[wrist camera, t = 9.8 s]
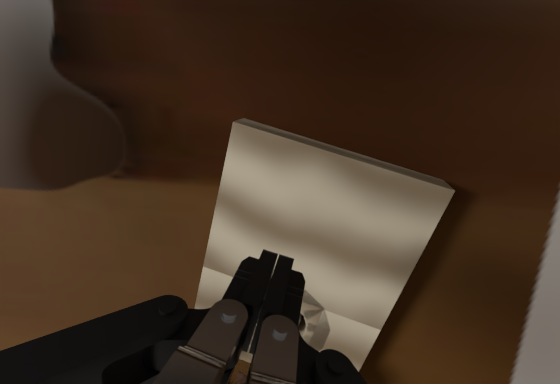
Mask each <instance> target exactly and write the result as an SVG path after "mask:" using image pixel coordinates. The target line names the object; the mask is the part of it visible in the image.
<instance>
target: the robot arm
mask: <svg viewBox="0 0 560 384" xmlns="http://www.w3.org/2000/svg"><path fill="white" fill-rule="evenodd" d="M277 256H278V254H277V253H274V252H271V251H268V250H265V249H263V251H262V253H261V255H260V258H259V259H257V258H254V257H250V256H249V257H247V258H246V259H244V260H243V261H241V263H240V265H239V267H238V269H237V271H236V273H235V275H234V277H233V279H232V280H231V282H230V284H229V286H228V288H227V290H226V292H225V294H224V296H223V298H222V299H221V300H220V301H218V302H216V303H215V304H214V305H213V306H212V307H211V308H207V309H188V306H187V304H186V302H185V301H184V300H183V299H182V298H180V297H177V296H174V295H164V296H160V297H157V298H154V299H151V300H148V301H145V302H142V303H139V304H136V305H133V306H131V307H128V308H125V309H122V310H119V311H116V312H113V313H110V314H107V315H104V316H101V317H98V318H95V319H93V320H90V321H87V322H84V323H81V324H78V325H75V326H72V327H69V328H66V329H63V330H60V331H57V332H54V333H52V334H49V335H46V336H43V337H40V338H37V339H34V340H31V341H28V342H25V343H22V344H19V345H16V346H14V347H11V348H8V349H5V350H2V351H0V384H228V382H229V380H230V378H231V376H232V373H233V371H234V369H235V365H236V364H237V362H238V360H239V357H240V355H241V352H242V351H244V352H247V351H248V348H249V345H250V342H251V339H252V336H253V333H254V330H255V333H254V336H253V340H252V343H251V347H250V350H249V353H251V354H253V357H252V360H251V364H250V367H249V371H248V374H247V378H246V383H245V384H367V383H366V382H365V381H364V379H363V378H362V376H361V375H360V373H359V372H358V371H357V369H356V368H355V366H354V365H353V363H352V362H351V361H350V360H349V358H348V357H347V356H345V355H344V354H343V353H341V352H339V351H337V350H334V349H325V350H322V351H321V352H319V351H317V350H316V349H314V348H313V347H311V346H310V345H308V344H307V343H306V342H305V341H304V339H303V338H302V336H301V334H300V332H299V327H298V325H299V318H300V312H301V306H302V300H303V294H304V288H305V279H304V276H303V274H302V273H301V272H298V271H295V270H292V266H293V262H294V258H290V257H287V256H284V255H281V254H279V257H278V260H277ZM276 260H277V263H276ZM275 264H276V266H275ZM274 267H275V269H274ZM273 271H274V272H273ZM272 274H273V275H272ZM257 321H258V322H257ZM256 324H257V325H256ZM255 327H256V329H255Z"/></svg>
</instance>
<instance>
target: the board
mask: <svg viewBox="0 0 560 384" xmlns="http://www.w3.org/2000/svg"><path fill="white" fill-rule="evenodd" d="M454 192H455V190H454V189H453V188H452V187H451V186H449V185H448V184H447V183H446V182H445V181H444V180H442V179H439V178H435V177H432V176H429V175H426V174H422V173H419V172H416V171H413V170H410V169H406V168H403V167H400V166H397V165H393V164H390V163H387V162H384V161H381V160H377V159H374V158H371V157H368V156H364V155H361V154H358V153H355V152H352V151H348V150H345V149H342V148H339V147H335V146H332V145H329V144H326V143H323V142H319V141H316V140H313V139H310V138H306V137H303V136H300V135H297V134H294V133H290V132H287V131H284V130H281V129H277V128H274V127H271V126H268V125H264V124H261V123H258V122H255V121H252V120H248V119H245V118H242V119H239V120H236V121H233V125H232V130H231V135H230V140H229V144H228V149H227V154H226V159H225V164H224V169H223V173H222V178H221V183H220V188H219V193H218V198H217V202H216V207H215V212H214V217H213V222H212V227H211V231H210V236H209V241H208V246H207V251H206V256H205V260H204V265H203V270H202V275H201V280H200V285H199V290H198V294H197V299H196V304H195V309H207V308H211V307H212V306H213V305H214V304H215V303H216V302H218V301H220V300H221V299H222V298H223V296H224V294H225V292H226V290H227V288H228V286H229V284H230V282H231V280H232V279H233V277H234V275H235V273H236V271H237V269H238V267H239V265H240V263H241V261H243V260H244V259H246V258H247V257H249V256H250V257H254V258H257V259H259V258H260V255H261V253H262V251H263V249H265V250H268V251H271V252H274V253H277V254H278V256H277V260H278V257H279V254H281V255H284V256H287V257H290V258H294V262H293V266H292V270H295V271H298V272H301V273H302V274H303V276H304V279H305V288H304V294H303V300H302V306H301V312H300V313H301V314H302V315H303V316H304V318H303V319H301V321H300V324H299V326H298V327H299V332H300V334H301V336H302V338H303V339H304V341H305V342H306V343H307V344H308V345H310V346H311V347H313V348H314V349H316V350H317V351H319V352H321V351H322V350H325V349H334V350H337V351H339V352H341V353H343V354H344V355H345V356H347V357H348V358H349V360H350V361H351V362H352V363H353V365H354V366H355V368H356V369H357V371H358V372H359V370H360V368H361V366H362V365H363V363H364V361H365V359H366V357H367V355H368V353H369V351H370V350H371V348H372V346H373V344H374V342H375V340H376V338H377V337H378V335H379V333H380V331H381V329H382V327H383V325H384V323H385V322H386V320H387V318H388V316H389V314H390V312H391V310H392V308H393V307H394V305H395V303H396V301H397V299H398V297H399V295H400V293H401V292H402V290H403V288H404V286H405V284H406V282H407V280H408V278H409V277H410V275H411V273H412V271H413V269H414V267H415V265H416V263H417V262H418V260H419V258H420V256H421V254H422V252H423V250H424V248H425V247H426V245H427V243H428V241H429V239H430V237H431V235H432V233H433V232H434V230H435V228H436V226H437V224H438V222H439V220H440V219H441V217H442V215H443V213H444V211H445V209H446V207H447V205H448V204H449V202H450V200H451V198H452V196H453V194H454ZM277 260H276V263H277ZM275 266H276V264H275ZM274 269H275V267H274ZM273 272H274V271H273ZM272 275H273V274H272ZM257 322H258V321H257ZM256 325H257V324H256ZM255 329H256V327H255ZM254 333H255V330H254ZM254 333H253V336H254ZM253 336H252V339H251V342H250V345H249V348H248V351H247V352H244V351H242V352H241V355H240V357H239V359H241V360H244V361H247V362H249V363H251V360H252V357H253V354H251V353H249V350H250V347H251V343H252V340H253Z"/></svg>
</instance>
